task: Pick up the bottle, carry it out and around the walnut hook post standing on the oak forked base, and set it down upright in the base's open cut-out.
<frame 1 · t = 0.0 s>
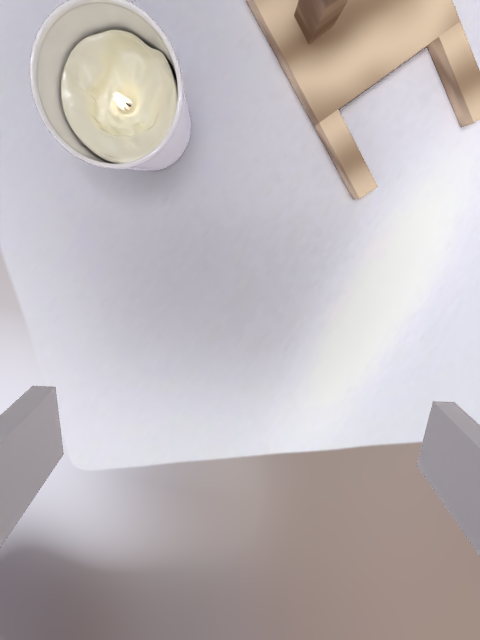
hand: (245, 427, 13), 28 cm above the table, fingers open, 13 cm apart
hook post: (313, 20, 30), resting on oak forked base
oak forked base: (368, 60, 33), on the table
candle holder: (148, 125, 35), on the table
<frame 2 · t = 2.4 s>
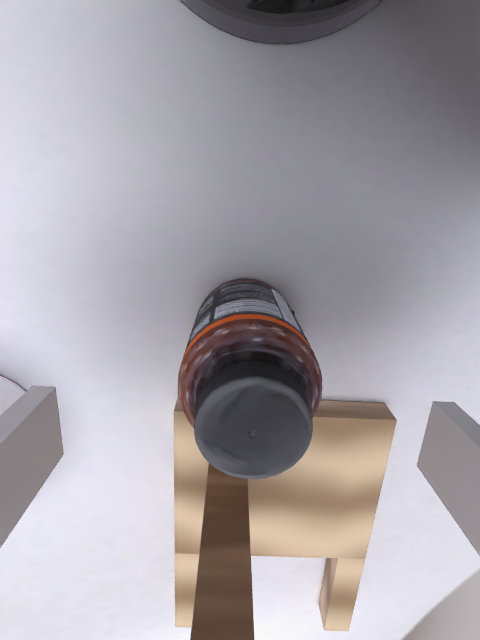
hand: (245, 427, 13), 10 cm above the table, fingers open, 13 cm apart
hook post: (227, 477, 24), resting on oak forked base
supplement bottle: (244, 321, 23), on the table
oak forked base: (270, 512, 27), on the table
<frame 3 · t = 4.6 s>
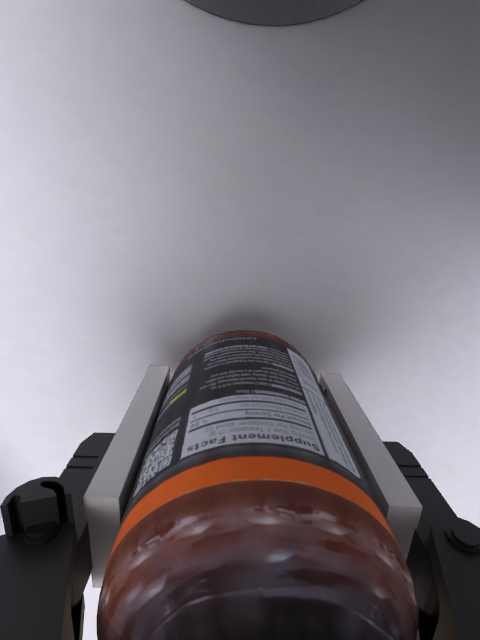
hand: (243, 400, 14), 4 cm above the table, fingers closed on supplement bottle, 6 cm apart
supplement bottle: (243, 390, 15), point 3 cm above the table, touching gripper
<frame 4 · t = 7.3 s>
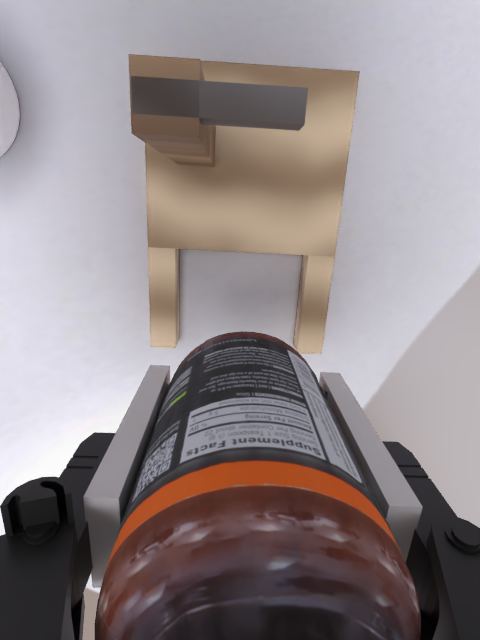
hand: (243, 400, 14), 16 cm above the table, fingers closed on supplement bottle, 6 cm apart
hook post: (196, 146, 24), resting on oak forked base
supplement bottle: (243, 391, 15), point 16 cm above the table, touching gripper
oak forked base: (242, 222, 28), on the table
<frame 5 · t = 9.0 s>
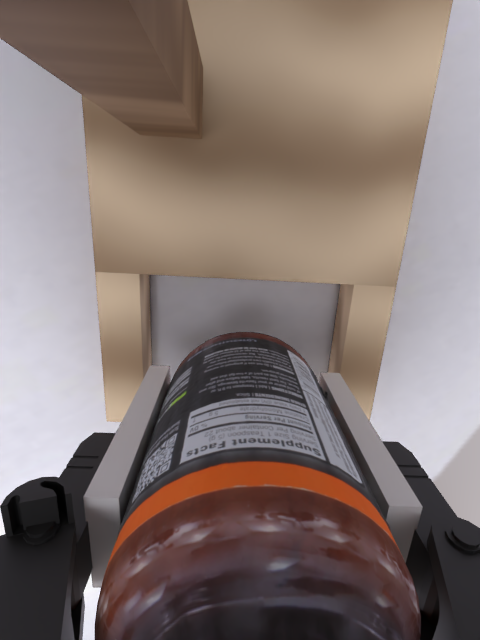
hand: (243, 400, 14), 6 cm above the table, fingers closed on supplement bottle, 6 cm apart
hook post: (171, 102, 14), resting on oak forked base
supplement bottle: (243, 391, 15), point 5 cm above the table, touching gripper
oak forked base: (248, 231, 18), on the table
when the fingers open (2 cm above the table, at t = 10.1 s): supplement bottle drops 2 cm, on the table.
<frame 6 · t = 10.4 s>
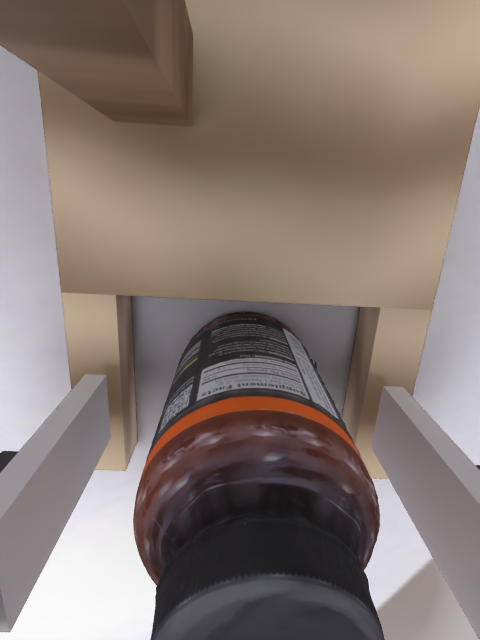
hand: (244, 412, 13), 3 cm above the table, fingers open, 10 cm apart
hook post: (152, 79, 11), resting on oak forked base
supplement bottle: (244, 367, 17), on the table
oak forked base: (250, 241, 15), on the table
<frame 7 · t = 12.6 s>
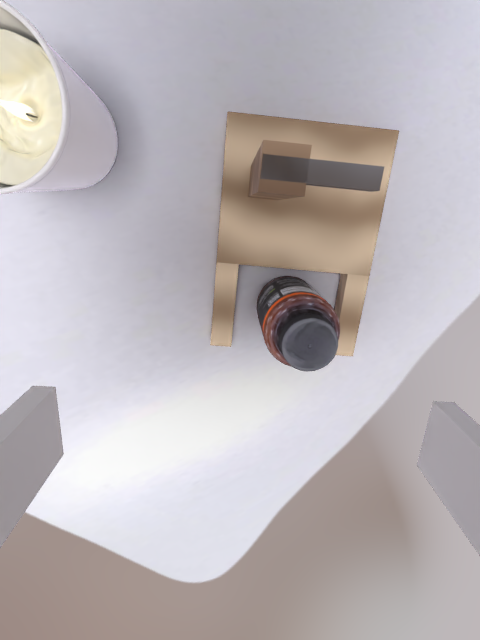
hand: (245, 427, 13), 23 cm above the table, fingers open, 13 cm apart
hook post: (264, 182, 30), resting on oak forked base
supplement bottle: (285, 303, 36), on the table
oak forked base: (293, 244, 34), on the table
candle holder: (70, 138, 31), on the table
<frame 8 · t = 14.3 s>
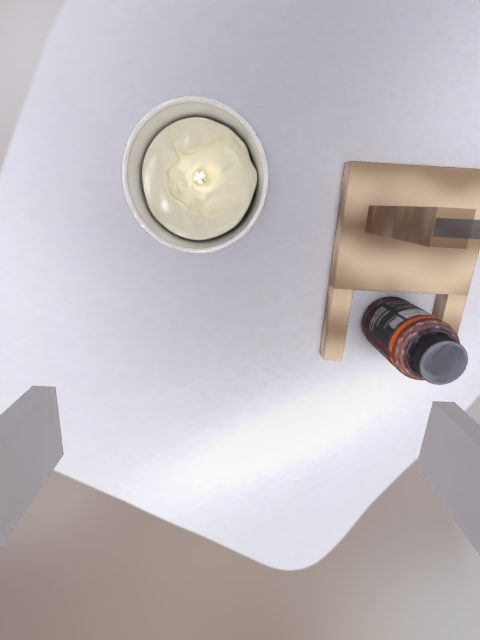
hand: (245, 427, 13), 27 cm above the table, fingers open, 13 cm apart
hook post: (379, 219, 34), resting on oak forked base
supplement bottle: (386, 320, 40), on the table
oak forked base: (396, 269, 38), on the table
candle holder: (207, 186, 35), on the table
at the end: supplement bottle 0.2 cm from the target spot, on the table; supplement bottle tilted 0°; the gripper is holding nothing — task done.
